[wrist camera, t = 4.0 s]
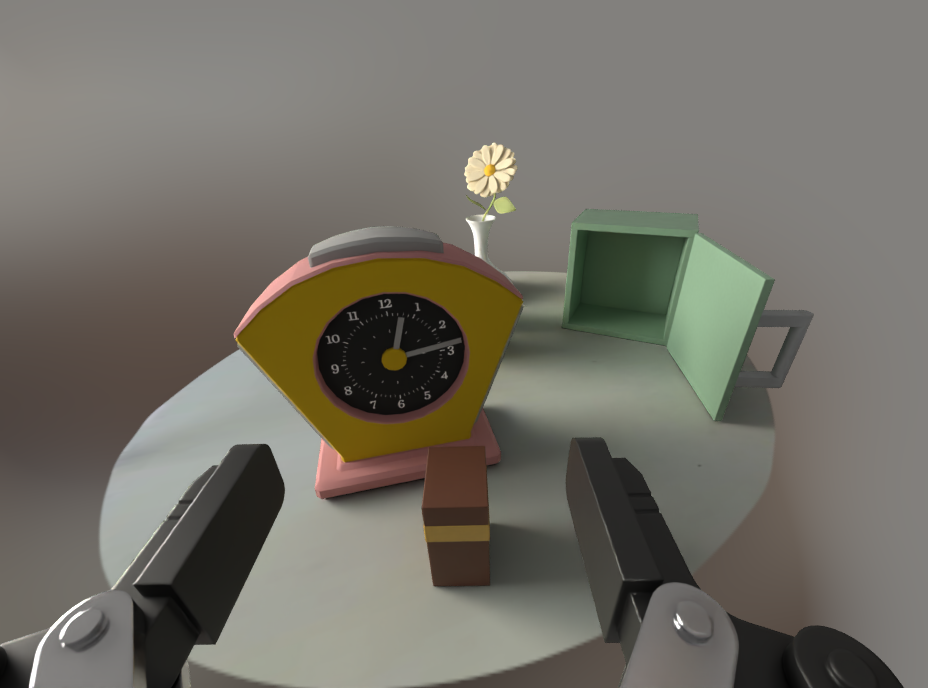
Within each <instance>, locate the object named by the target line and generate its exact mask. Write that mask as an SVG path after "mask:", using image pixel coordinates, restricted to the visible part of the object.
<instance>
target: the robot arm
mask: <svg viewBox="0 0 928 688" xmlns="http://www.w3.org/2000/svg"><path fill="white" fill-rule="evenodd" d="M284 494H285V487H284V482H283V479H282V477H281V474H280V471H279V469H278V466H277V464H276V461H275V459H274V456H273V454H272V451H271V449H270V447H269V446H268V445H267V444H242V445H235V446H233V447H232V448H231V449H230V450H229V452H228V453H227V454H226V456H225V457H224V459H223V460H222V461H221V463H220V464H219V465H216V466H212V467H210V468H209V469H208V470H207V471H206V472H204V473H203V474H202V475H201V476H199V477H198V478H197V479H196V480H194V481H193V482H192V484H191V485H190V486H189V488H188V489H187V490H186V492H185V493H184V494H183V495H182V497H181V498H180V499H179V503H178V504H176V505H175V506H174V507H173V509H172V510H171V511H170V513H169V514H168V515H167V519H166V521H163V522H162V523H161V525H160V526H159V527H158V529H157V530H156V531H155V532H154V534H153V535H152V536H151V538H150V539H149V540H148V542H147V543H146V544H145V546H144V547H143V548H142V550H141V551H140V552H139V554H138V555H137V556H136V558H135V559H134V560H133V562H132V563H131V564H130V566H129V567H128V568H127V569H126V571H125V572H124V573H123V575H122V576H121V577H120V579H119V580H118V581H117V583H116V584H115V585H114V586H113V587H112V589H111V590H110V591H105V592H102V593H99V594H96V595H94V596H92V597H90V598H88V599H86V600H84V601H82V602H81V603H79V604H78V605H76V606H75V607H73V608H72V609H71V610H69V611H68V612H67V613H66V614H64V616H62V617H61V618H60V619H59V620H58V621H57V622H56V623H55V624H54V625H53V626H52V627H51V628H49V629H46V630H43V631H40V632H37V633H34V634H31V635H28V636H24V637H21V638H18V639H15V640H12V641H9V642H6V643H3V644H0V688H191V682H190V672H189V666H188V663H187V661H186V660H187V658H188V656H189V654H190V652H191V650H192V648H193V646H194V645H210V644H216V642H217V640H218V638H219V636H220V634H221V632H222V630H223V628H224V626H225V624H226V621H227V619H228V617H229V615H230V613H231V611H232V609H233V607H234V605H235V603H236V601H237V599H238V596H239V594H240V592H241V590H242V588H243V586H244V584H245V582H246V580H247V578H248V576H249V573H250V571H251V569H252V567H253V565H254V563H255V561H256V559H257V557H258V555H259V553H260V551H261V548H262V546H263V544H264V542H265V540H266V538H267V536H268V534H269V532H270V530H271V528H272V526H273V523H274V521H275V519H276V517H277V515H278V513H279V511H280V509H281V507H282V504H283V500H284ZM566 494H567V500H568V504H569V508H570V512H571V516H572V520H573V523H574V527H575V531H576V535H577V539H578V542H579V546H580V550H581V554H582V558H583V561H584V565H585V569H586V573H587V577H588V580H589V584H590V588H591V592H592V596H593V599H594V603H595V607H596V611H597V615H598V619H599V622H600V626H601V630H602V634H603V638H604V641H605V643H620V644H621V647H622V651H623V654H624V657H625V660H626V666H625V669H624V671H623V674H622V677H621V680H620V683H619V686H618V688H903V686H902V684H901V683H900V682H899V680H898V679H897V678H896V676H895V675H894V674H893V673H892V671H891V670H890V669H889V668H888V667H887V666H886V664H885V663H884V662H883V661H882V660H881V659H880V658H879V657H878V656H876V655H875V654H874V653H873V652H872V651H871V650H869V649H868V648H867V647H865V646H864V645H863V644H861V643H860V642H858V641H857V640H855V639H854V638H852V637H850V636H848V635H846V634H845V633H842V632H840V631H837V630H835V629H832V628H828V627H825V626H808V627H805V628H803V629H802V630H800V631H799V632H798V634H797V635H796V636H795V637H793V636H790V635H787V634H783V633H780V632H777V631H774V630H771V629H768V628H765V627H762V626H758V625H755V624H752V623H749V622H746V621H744V620H741V619H738V618H736V617H734V616H732V615H730V614H729V613H727V612H726V611H724V609H723V608H722V607H721V606H720V605H719V604H718V603H717V602H716V601H715V600H714V599H713V598H711V597H710V596H709V595H708V594H706V593H705V592H703V591H702V590H701V589H700V588H699V586H698V585H697V584H696V582H695V581H694V579H693V577H692V575H691V573H690V571H689V569H688V567H687V565H686V563H685V561H684V559H683V557H682V555H681V553H680V551H679V549H678V547H677V545H676V543H675V541H674V539H673V536H672V534H671V532H670V530H669V528H668V526H667V524H666V522H665V520H664V518H663V516H662V514H661V513H659V508H658V506H657V504H656V502H655V500H654V498H653V497H652V496H651V492H650V490H649V488H648V486H647V484H646V482H645V480H644V478H643V475H642V474H641V473H640V472H639V471H638V470H637V469H636V468H635V467H634V466H633V465H632V464H631V463H630V462H629V461H628V460H627V459H626V458H612V457H611V454H610V452H609V450H608V447H607V445H606V443H605V441H604V439H603V438H601V437H593V438H572V440H571V444H570V451H569V458H568V466H567V473H566Z"/></svg>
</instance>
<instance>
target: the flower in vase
mask: <svg viewBox="0 0 928 688" xmlns="http://www.w3.org/2000/svg"><path fill="white" fill-rule="evenodd" d="M513 157H514V152H511V150H510V149H507V148H506V147H504V146H503V145H497V144H496V143H493V144H492V145H491V146H486V145H484V146H483V147H482V149H481V150H479V151H475V152H474V154H473V157H471V158H469V160H468V162H469V163H468V166H467V167H466V168H465V171H466V172H465V174H464V175H465V176H466V177H467V178H466V182H467V183H469V184H468V186H467V188H468V189H470V191H474V193H475V194H478V193H480V195H481V196H482V197H488V196H492V195H493V194H494V198H493V201H492V203H491V204H490V206H489V208H488V209H487V211H486V213H485V215H474V216H469V217H467V218H466V220H467V222H468V223H469V225H470V226H471V229H472V231H473V235H474V242H475V256H477V257H479V258H481V259H482V260H484V261H485V262H487V263H488V264H489V265H491V266H492V267H493V268H495V269H496V270H498V271H499V272H500V273H502V274H503V275H504V276H505V277H506V278H507V279H508V280H509V281H510V282H511V283H512V281H511V279H510V278H509V277H508V276H507V275H506V274H505V273H504V272H502V271H501V270H500V269H498V268H497V267H495V266H494V265H493V264H492V263H491V262H490V260H489V257H488V236H489V231H490V228H491V226H492V224H493V222H494V221H495V219H496V217H494V216H491V215H487V213H488V211H489V210H490V208H491V207H492V205H493V203H494V207H495V208H496V211H497V212H498V213H508V212H512V211H515V210H516V209H515V207H514V206H513V204H512V203H511V201H510V200H509V199H508V198H507V197H501V198H499V199H497V200H495V198H496V192H497V193H500V192H502V191H504V190H505V189H506V188H507V187H508V186H509V181H511V180H513V175H514V174H515V172H516V171H517V166H516V165H514V164H515V163H516V160H515V159H514V158H513ZM466 196H467V195H466ZM467 198H468V199H469V200H470V201H471V202H473V203H474V204H476V205H478V206H480V207H481V208H483V209H485V208H484V207H483V206H482V205H481V204H479V203H477V202H475V201H473V200H471V199H470V198H469V197H467Z"/></svg>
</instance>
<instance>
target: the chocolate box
mask: <svg viewBox="0 0 928 688" xmlns="http://www.w3.org/2000/svg"><path fill="white" fill-rule="evenodd" d="M422 514H423V521H424V526H423V527H424V534H425V540H426V542H427V547H428V554H429V560H430V567H431V574H432V580H433V586H486V585H490V556H489V540H490V521H489V502H488V484H487V466H486V450H485V446H457V447H429V449H428V457H427V466H426V474H425V483H424V491H423V500H422Z"/></svg>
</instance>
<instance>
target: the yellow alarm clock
mask: <svg viewBox="0 0 928 688" xmlns="http://www.w3.org/2000/svg"><path fill="white" fill-rule="evenodd" d="M522 299H523V296H522V294H521V293H520V292H519V291H518V290H517V289H516V288H515V287H514V286H513V284H512V283H511V282H510V281H509V280H508V279H507V278H506V277H505V276H504V275H503V274H502V273H500V272H499V271H498V270H496V269H495V268H493V267H492V266H491V265H489V264H488V263H487V262H485V261H484V260H482V259H481V258H479V257H477V256H475V255H472V254H470V253H468V252H466V251H464V250H462V249H460V248H458V247H456V246H454V245H451V244H447V243H443V242H442V241H441V240H440V238H439V236H438V235H437V234H435V233H433V232H428V231H424V230H420V229H415V228H405V227H387V226H386V227H385V226H380V227H377V226H374V227H369V228H364V229H359V230H354V231H351V232H347V233H343V234H340V235H336V236H333V237H331V238H329V239H327V240H324V241H322V242H320V243H318V244H315V245H314V246H313V247H312V249H311V251H310V253H309V256H308V257H307V258H304V259H302V260H300V261H299V262H298V263H296V264H295V265H294V266H292V267H291V268H290V269H288V270H287V271H286V272H285V273H283V274H282V275H281V276H280V277H278V278H277V279H276V280H274V281H273V282H272V283H271V284H270V285H269V286H268V287H267V288H266V290H265V291H264V292H263V293H262V294H261V295H260V296H259V298H258V299H257V300H256V301H255V302H254V303H253V304H252V306H251V307H250V308H249V310H248V312H247V313H246V315H245V317H244V318H243V320H242V321H241V323H240V324H239V326H238V328H237V329H236V331H235V332H234V337H236V341H237V343H238V345H237V346H238V348H239V349H240V350H241V351H242V352H243V353H244V354H245V355H246V356H247V357H248V358H249V360H250V361H251V362H252V363H253V364H254V365H255V366H256V367H257V368H258V369H259V370H260V372H261V373H262V374H263V375H264V376H265V377H266V378H267V379H268V380H269V381H270V382H271V384H272V385H273V386H274V387H275V388H276V389H277V390H278V391H279V392H280V393H281V394H282V396H283V397H284V398H285V399H286V400H287V401H288V402H289V403H290V404H291V405H292V406H293V408H294V409H295V410H296V411H297V412H298V413H299V414H300V415H301V416H302V417H303V418H304V420H305V421H306V422H307V423H308V424H309V425H310V426H311V427H312V428H313V429H314V430H315V432H316V433H317V434H318V435H319V436H320V437H321V438H322V439H321V446H320V454H319V461H318V469H317V476H316V484H315V491H316V495H317V497H319V498H321V499H324V498H329V497H333V496H338V495H343V494H348V493H353V492H358V491H363V490H368V489H373V488H378V487H383V486H387V485H392V484H397V483H402V482H407V481H412V480H417V479H422V478H425V474H426V466H427V457H428V449H429V447H457V446H485V450H486V465H491V464H496V463H498V462H499V461H500V460H501V451H500V448H499V446H498V443H497V441H496V439H495V436H494V434H493V431H492V429H491V426H490V424H489V422H488V419H487V417H486V414H485V412H484V409H483V406H484V403H485V401H486V399H487V396H488V394H489V391H490V389H491V386H492V384H493V381H494V379H495V376H496V374H497V371H498V369H499V367H500V364H501V362H502V359H503V357H504V354H505V352H506V349H507V347H508V344H509V342H510V339H511V337H512V334H513V332H514V330H515V327H516V325H517V322H518V320H519V317H520V315H521V312H522V310H523V305H522V303H523V301H522Z"/></svg>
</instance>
